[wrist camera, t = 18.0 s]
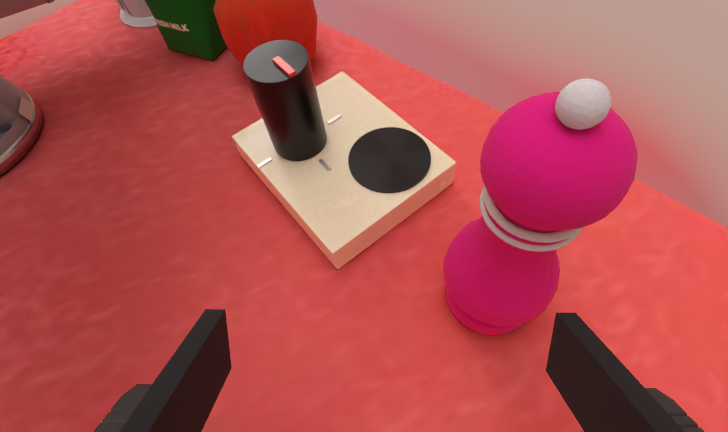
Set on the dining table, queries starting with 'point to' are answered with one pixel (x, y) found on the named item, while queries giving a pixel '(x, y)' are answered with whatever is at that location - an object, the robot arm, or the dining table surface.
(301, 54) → the hob knob
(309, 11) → the apple
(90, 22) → the dining table surface
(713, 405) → the dining table surface
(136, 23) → the french press
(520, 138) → the pepper mill
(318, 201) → the hob
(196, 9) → the milk carton
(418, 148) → the burner
